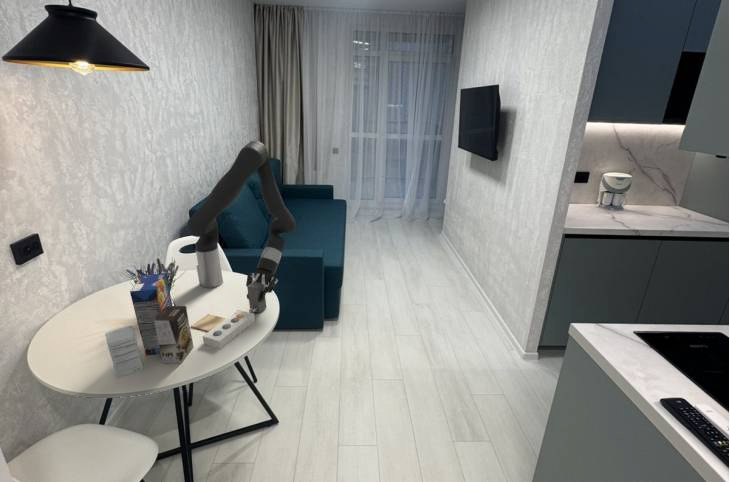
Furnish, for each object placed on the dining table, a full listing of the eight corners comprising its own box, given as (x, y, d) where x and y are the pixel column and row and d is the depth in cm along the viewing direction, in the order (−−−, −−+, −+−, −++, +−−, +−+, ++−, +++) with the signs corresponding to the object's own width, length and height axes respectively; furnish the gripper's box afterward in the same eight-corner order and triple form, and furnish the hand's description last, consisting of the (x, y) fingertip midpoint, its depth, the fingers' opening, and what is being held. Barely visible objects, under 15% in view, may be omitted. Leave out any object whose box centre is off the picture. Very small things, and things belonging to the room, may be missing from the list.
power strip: (203, 343, 133) (202, 334, 132) (239, 316, 149) (238, 308, 148) (220, 348, 130) (219, 339, 129) (254, 320, 146) (253, 312, 145)
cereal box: (155, 335, 138) (141, 275, 129) (178, 333, 139) (165, 273, 131) (145, 356, 127) (129, 291, 118) (170, 353, 128) (156, 289, 120)
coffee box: (182, 363, 123) (173, 320, 117) (162, 363, 123) (152, 320, 117) (194, 346, 132) (186, 305, 126) (176, 346, 132) (167, 305, 126)
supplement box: (114, 365, 122) (105, 332, 118) (141, 357, 126) (132, 324, 122) (116, 379, 117) (106, 344, 112) (144, 369, 121) (135, 335, 116)
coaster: (191, 327, 143) (190, 325, 142) (208, 315, 150) (208, 314, 150) (209, 332, 139) (209, 331, 139) (226, 319, 147) (226, 318, 147)
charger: (247, 313, 151) (243, 288, 147) (257, 305, 157) (254, 281, 153) (256, 315, 149) (253, 290, 145) (266, 307, 155) (263, 283, 151)
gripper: (250, 254, 156) (234, 294, 150) (280, 259, 151) (264, 300, 145) (260, 261, 162) (244, 299, 156) (288, 266, 157) (273, 306, 151)
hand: (254, 300), depth 150 cm, fingers closed on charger, 4 cm apart
